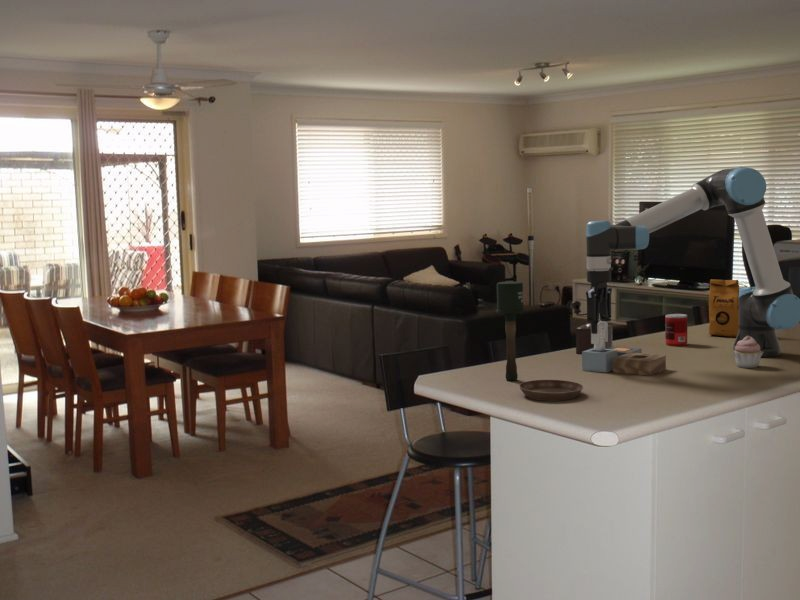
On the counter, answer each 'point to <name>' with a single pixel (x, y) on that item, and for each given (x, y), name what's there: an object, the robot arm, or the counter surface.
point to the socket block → (640, 363)
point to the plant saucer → (551, 389)
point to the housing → (633, 350)
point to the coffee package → (724, 308)
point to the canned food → (676, 329)
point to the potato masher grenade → (510, 319)
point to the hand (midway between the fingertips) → (599, 342)
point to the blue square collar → (598, 360)
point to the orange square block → (622, 349)
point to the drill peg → (601, 340)
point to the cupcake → (747, 353)
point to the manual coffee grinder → (586, 332)
